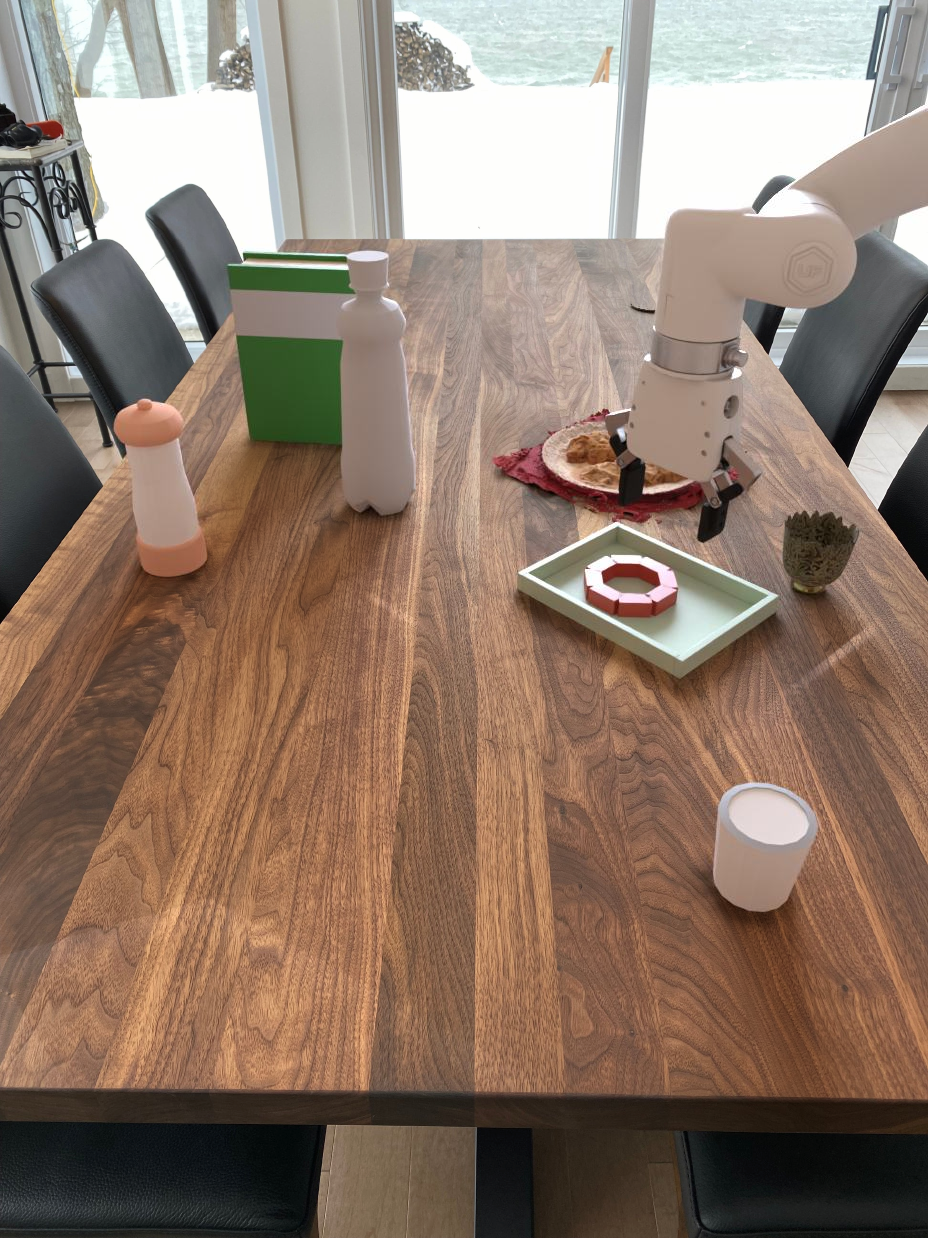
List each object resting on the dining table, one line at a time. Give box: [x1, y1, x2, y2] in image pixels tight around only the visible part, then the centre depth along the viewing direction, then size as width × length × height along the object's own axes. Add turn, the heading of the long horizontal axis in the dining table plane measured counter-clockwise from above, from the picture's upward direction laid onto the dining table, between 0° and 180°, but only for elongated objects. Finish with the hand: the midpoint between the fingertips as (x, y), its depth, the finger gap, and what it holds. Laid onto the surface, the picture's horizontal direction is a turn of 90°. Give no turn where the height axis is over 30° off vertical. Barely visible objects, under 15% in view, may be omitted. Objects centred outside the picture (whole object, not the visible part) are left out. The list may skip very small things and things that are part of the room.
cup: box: [781, 509, 860, 597], centre depth 104 cm, size 8×7×8 cm
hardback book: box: [226, 250, 357, 446], centre depth 134 cm, size 18×7×24 cm, turn 83°
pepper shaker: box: [113, 398, 208, 578], centre depth 106 cm, size 7×7×19 cm
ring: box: [583, 555, 678, 618], centre depth 104 cm, size 10×10×2 cm
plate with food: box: [491, 408, 748, 525], centre depth 129 cm, size 24×26×4 cm
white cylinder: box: [712, 781, 819, 913], centre depth 71 cm, size 7×7×7 cm
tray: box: [516, 521, 780, 679], centre depth 103 cm, size 22×17×2 cm
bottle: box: [335, 250, 417, 517], centre depth 114 cm, size 9×9×30 cm
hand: (668, 519), depth 97 cm, fingers open, 9 cm apart
